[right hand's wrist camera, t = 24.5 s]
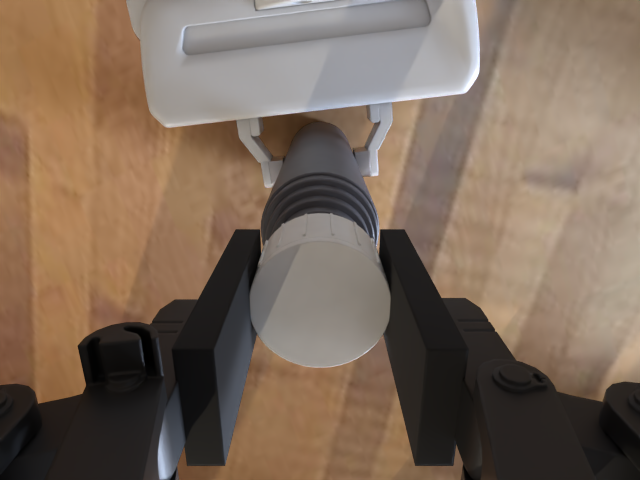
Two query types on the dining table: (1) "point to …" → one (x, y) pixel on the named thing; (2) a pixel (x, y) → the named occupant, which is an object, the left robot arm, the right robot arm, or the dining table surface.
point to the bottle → (320, 182)
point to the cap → (320, 292)
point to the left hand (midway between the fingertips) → (322, 180)
